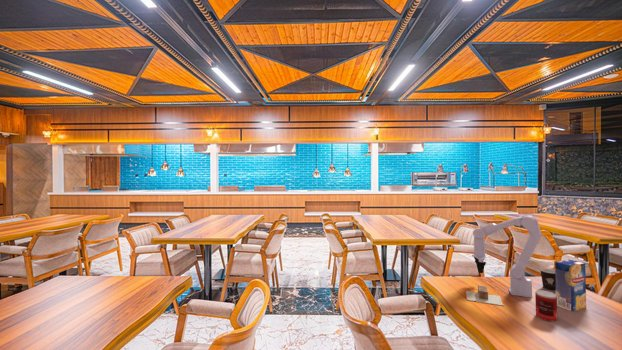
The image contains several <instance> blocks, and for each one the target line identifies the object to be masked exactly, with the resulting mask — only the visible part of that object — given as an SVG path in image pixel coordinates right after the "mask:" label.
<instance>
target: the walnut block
mask: <svg viewBox="0 0 622 350" xmlns="http://www.w3.org/2000/svg"><path fill="white" fill-rule="evenodd" d="M477 293H478V294H479V299H486V300H488V294H489V291H488V288H487V286H486V285H479V284H478V285H477Z"/></svg>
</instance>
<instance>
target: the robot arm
mask: <svg viewBox="0 0 622 350" xmlns="http://www.w3.org/2000/svg"><path fill="white" fill-rule="evenodd" d="M514 226H517V227H521V226H522V227H524V229H525V230H527V232H528V234H529V236H528V238H527V240H526V242H525V243H524V246H523V249H522V250H521V252H520V254H519V256H518V259H517V260H516V261H515V263H514V264H512V266H511V269H510V276H509V278H510V279H509V280H510V281H509V283H510V284H509V285H510V286H509V287H510V288H508V291H509V293H510V295H512V296H517V297H525V298H530V299H531V298H533V283H532V279H531V278H527V277H526V274H525V273H526V269H527V266H528V264H529V262H530V259H531V258H532V256H533V254H534V252H535V250H536V248H537V246H538V244H539V242H540V240H541V238H542V232H541V228H540V225H539V222H538V220H537V219H536V217H534V215H531V214H525V215H523V216H522V215H519V216H517V217H513V218H511V219H508V220H505V221H503V222H499V223H494V222H492V223H491V222H488V223H487V224H485V225H483V226H482V225H481V226H479V227H476V228H474V230H473V231H472V236H473V254H471V256H472V257H473V258H474V262H475V264H476V268H477V271H478V274H483V273H484V271H485V270H484V269H485V266H486V264H487V261H484V260H485V259H486V241H485V237H488V236H491V235H494V234H498V233H499V232H500V230H502V229H505V228H510V227H514Z"/></svg>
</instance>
